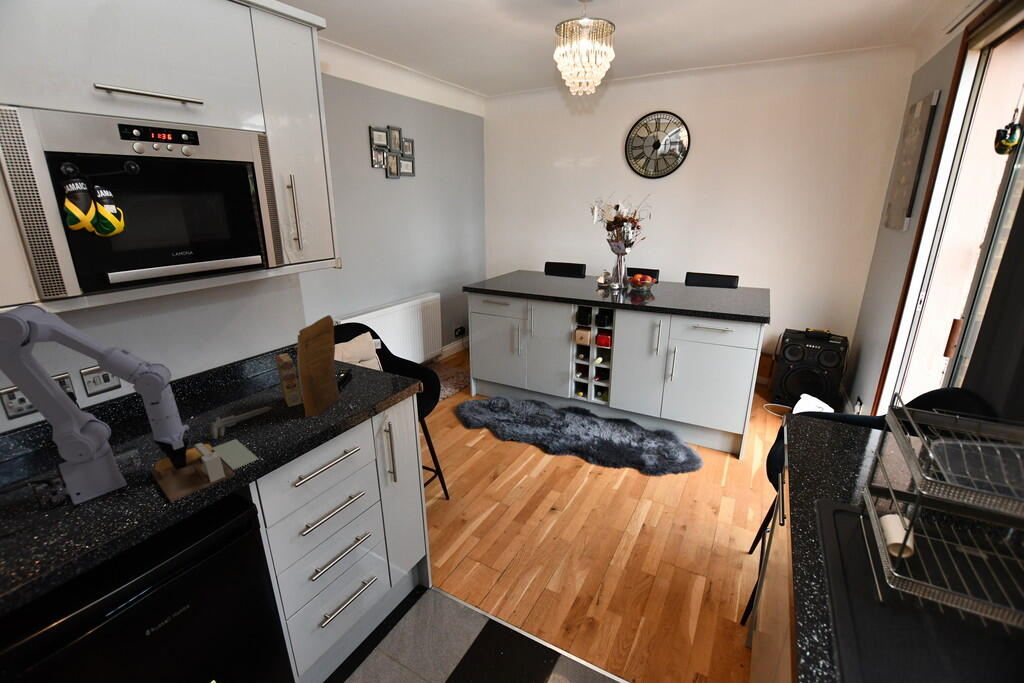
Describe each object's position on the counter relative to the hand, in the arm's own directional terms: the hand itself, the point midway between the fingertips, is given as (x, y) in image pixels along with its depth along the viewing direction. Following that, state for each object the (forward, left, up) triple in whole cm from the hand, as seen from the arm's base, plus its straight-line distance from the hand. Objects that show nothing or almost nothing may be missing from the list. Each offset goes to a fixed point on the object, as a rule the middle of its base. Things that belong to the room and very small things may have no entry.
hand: (178, 464), depth 114 cm
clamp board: (+1, -3, -2) cm, 4 cm away
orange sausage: (+1, 0, 0) cm, 2 cm away
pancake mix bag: (+41, +6, -2) cm, 41 cm away
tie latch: (+5, -8, -1) cm, 9 cm away
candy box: (+36, +19, -2) cm, 41 cm away
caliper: (+20, +15, -2) cm, 25 cm away
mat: (+11, -2, -2) cm, 12 cm away
